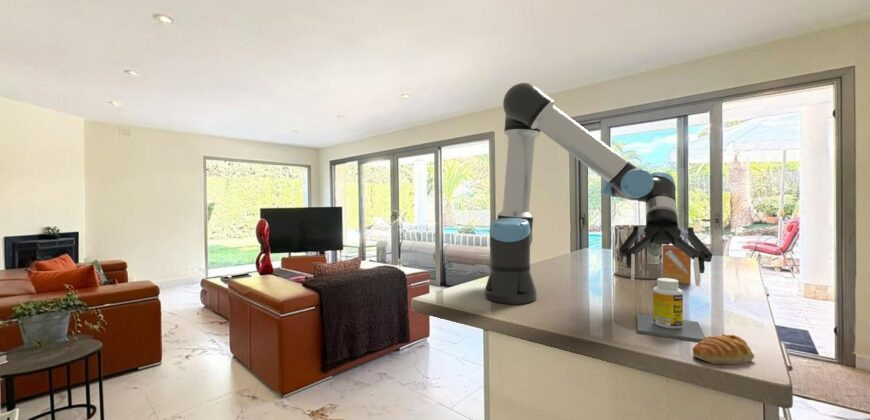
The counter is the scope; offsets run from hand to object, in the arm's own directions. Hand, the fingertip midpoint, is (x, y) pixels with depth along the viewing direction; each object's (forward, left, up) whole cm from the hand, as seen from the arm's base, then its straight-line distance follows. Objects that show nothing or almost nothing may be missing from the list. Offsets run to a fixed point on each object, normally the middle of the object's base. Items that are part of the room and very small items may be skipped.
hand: (664, 280), depth 88 cm
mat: (0, -11, -9) cm, 14 cm away
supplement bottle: (0, -10, -8) cm, 13 cm away
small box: (+6, +44, -9) cm, 46 cm away
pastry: (+7, -23, -9) cm, 26 cm away
